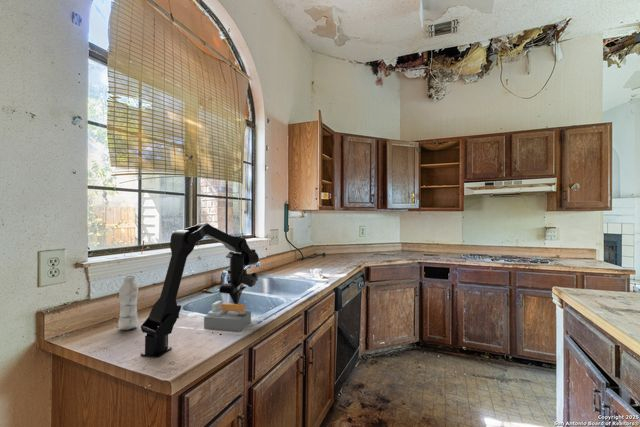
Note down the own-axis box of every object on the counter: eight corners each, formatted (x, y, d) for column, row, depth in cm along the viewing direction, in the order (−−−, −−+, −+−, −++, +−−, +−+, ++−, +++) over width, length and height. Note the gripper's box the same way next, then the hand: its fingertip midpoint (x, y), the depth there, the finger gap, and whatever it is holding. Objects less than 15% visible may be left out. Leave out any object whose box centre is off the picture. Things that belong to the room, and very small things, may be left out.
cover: (219, 316, 115) (219, 305, 115) (207, 315, 116) (208, 304, 116) (228, 310, 122) (228, 300, 122) (217, 309, 122) (217, 299, 122)
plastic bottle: (122, 333, 108) (123, 279, 108) (115, 329, 112) (116, 276, 112) (141, 328, 113) (142, 276, 113) (134, 324, 117) (134, 274, 117)
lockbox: (240, 331, 111) (240, 319, 111) (203, 328, 114) (204, 316, 114) (251, 322, 121) (251, 311, 121) (217, 319, 124) (217, 308, 124)
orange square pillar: (243, 315, 116) (243, 305, 116) (221, 313, 117) (221, 304, 117) (245, 313, 117) (245, 304, 117) (223, 311, 119) (224, 302, 119)
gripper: (245, 273, 113) (244, 313, 113) (263, 264, 131) (262, 299, 131) (218, 271, 115) (217, 311, 115) (240, 263, 133) (239, 298, 133)
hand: (236, 304), depth 123 cm, fingers closed
